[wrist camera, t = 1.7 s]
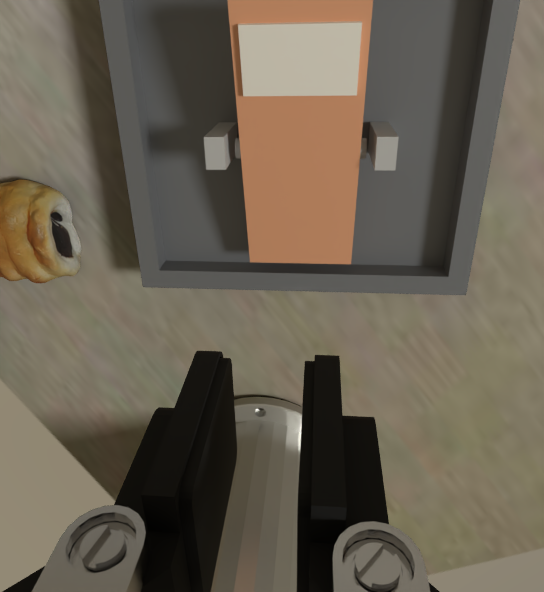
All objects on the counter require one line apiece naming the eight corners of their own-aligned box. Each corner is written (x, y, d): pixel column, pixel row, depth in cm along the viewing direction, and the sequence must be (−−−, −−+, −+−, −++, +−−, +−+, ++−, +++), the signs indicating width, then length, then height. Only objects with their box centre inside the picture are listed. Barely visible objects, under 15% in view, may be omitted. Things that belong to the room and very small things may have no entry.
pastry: (-31, 272, 37) (-67, 296, 34) (-66, 180, 34) (-109, 197, 30) (92, 268, 36) (68, 293, 32) (67, 172, 33) (38, 189, 29)
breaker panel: (454, 273, 33) (477, 318, 28) (156, 267, 35) (128, 307, 30) (510, -60, 25) (557, -81, 20) (113, -46, 27) (64, -63, 22)
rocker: (355, 252, 31) (356, 267, 30) (247, 250, 31) (244, 264, 30) (378, -14, 21) (381, -6, 20) (224, -10, 22) (219, -2, 21)
